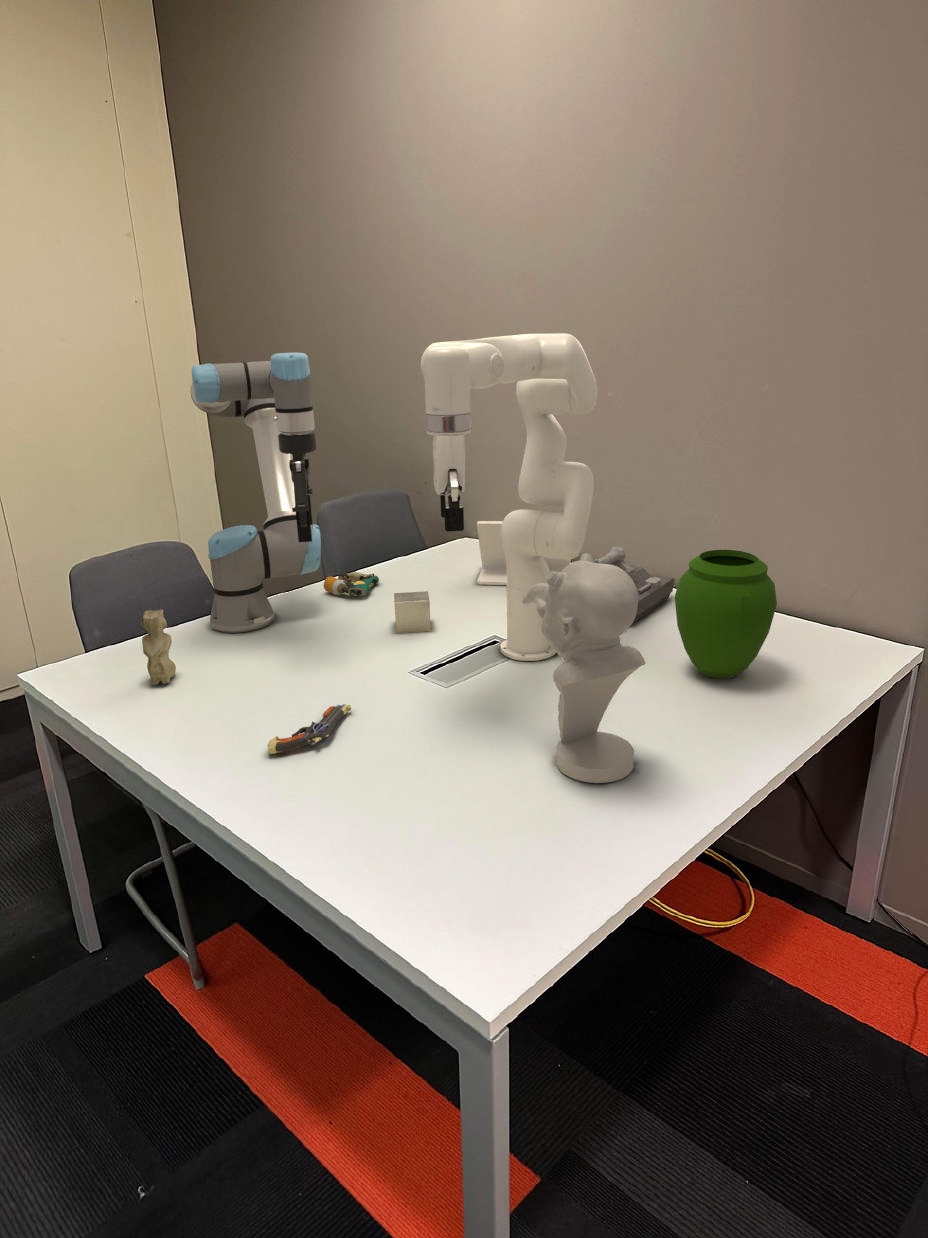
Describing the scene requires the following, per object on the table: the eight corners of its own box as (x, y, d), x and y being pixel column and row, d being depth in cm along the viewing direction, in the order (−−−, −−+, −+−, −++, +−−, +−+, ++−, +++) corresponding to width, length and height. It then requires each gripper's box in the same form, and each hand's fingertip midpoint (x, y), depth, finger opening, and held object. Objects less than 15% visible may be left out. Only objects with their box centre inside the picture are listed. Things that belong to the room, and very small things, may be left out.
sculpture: (181, 672, 182) (171, 606, 177) (172, 686, 176) (161, 618, 170) (154, 673, 182) (142, 607, 177) (144, 687, 175) (131, 619, 170)
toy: (603, 584, 229) (605, 530, 224) (673, 597, 218) (677, 540, 213) (555, 612, 210) (556, 553, 205) (630, 627, 199) (633, 566, 194)
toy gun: (262, 744, 147) (317, 741, 144) (302, 702, 164) (351, 699, 162) (265, 758, 147) (319, 756, 145) (305, 715, 165) (354, 712, 163)
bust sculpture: (574, 712, 160) (578, 530, 147) (660, 769, 140) (672, 565, 127) (501, 733, 153) (498, 544, 140) (579, 797, 133) (584, 583, 120)
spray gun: (347, 579, 242) (393, 587, 236) (313, 594, 227) (362, 602, 221) (347, 565, 240) (393, 572, 235) (313, 578, 226) (361, 587, 220)
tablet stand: (569, 585, 229) (570, 524, 223) (476, 584, 232) (475, 523, 226) (570, 566, 246) (571, 508, 240) (484, 564, 249) (483, 507, 243)
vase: (779, 663, 178) (792, 551, 169) (754, 700, 162) (766, 578, 154) (688, 646, 188) (695, 539, 179) (656, 679, 172) (662, 563, 164)
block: (395, 623, 207) (394, 593, 204) (429, 621, 207) (428, 591, 205) (396, 633, 200) (394, 602, 198) (430, 631, 201) (429, 600, 198)
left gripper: (280, 424, 185) (289, 519, 193) (274, 443, 162) (285, 550, 170) (315, 422, 186) (323, 517, 194) (314, 441, 163) (323, 547, 171)
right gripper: (423, 418, 151) (428, 513, 157) (429, 432, 134) (433, 537, 140) (466, 416, 151) (468, 511, 157) (476, 430, 135) (479, 535, 141)
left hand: (305, 532), depth 182 cm, fingers open, 13 cm apart
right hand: (452, 523), depth 149 cm, fingers open, 9 cm apart
